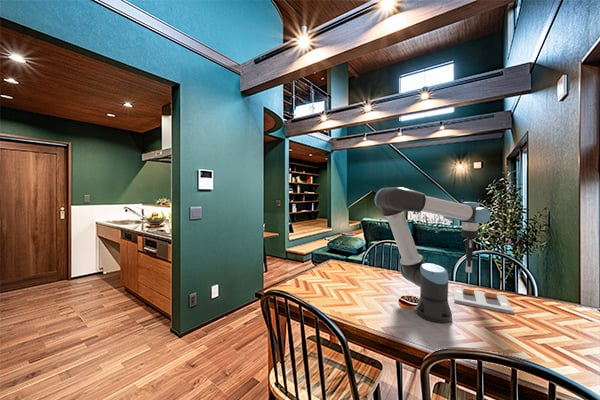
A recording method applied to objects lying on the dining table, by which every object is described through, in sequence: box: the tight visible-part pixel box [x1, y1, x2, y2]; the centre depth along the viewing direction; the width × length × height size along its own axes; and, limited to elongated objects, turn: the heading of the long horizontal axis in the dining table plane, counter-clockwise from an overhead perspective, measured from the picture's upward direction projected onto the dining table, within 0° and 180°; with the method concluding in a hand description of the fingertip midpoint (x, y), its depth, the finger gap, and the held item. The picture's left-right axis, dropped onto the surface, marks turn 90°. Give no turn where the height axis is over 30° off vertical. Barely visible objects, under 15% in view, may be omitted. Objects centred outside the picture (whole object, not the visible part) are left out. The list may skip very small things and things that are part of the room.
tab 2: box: [484, 289, 498, 298], centre depth 131 cm, size 3×5×2 cm, turn 58°
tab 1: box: [462, 286, 475, 295], centre depth 136 cm, size 3×5×2 cm, turn 58°
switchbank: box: [453, 286, 515, 315], centre depth 131 cm, size 20×24×2 cm
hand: (468, 271), depth 134 cm, fingers closed
